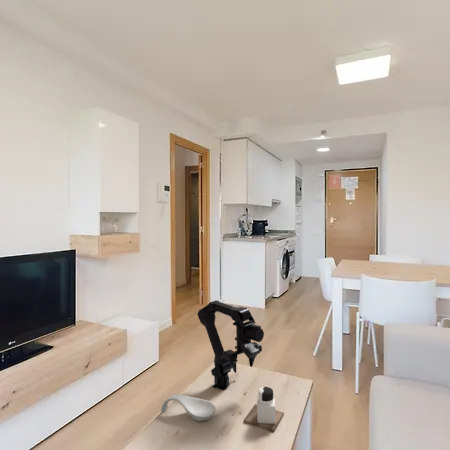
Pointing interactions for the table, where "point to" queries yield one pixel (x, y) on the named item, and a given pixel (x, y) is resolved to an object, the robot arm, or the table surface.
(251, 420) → the walnut board
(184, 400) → the spoon rest
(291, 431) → the table surface
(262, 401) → the medicine bottle
